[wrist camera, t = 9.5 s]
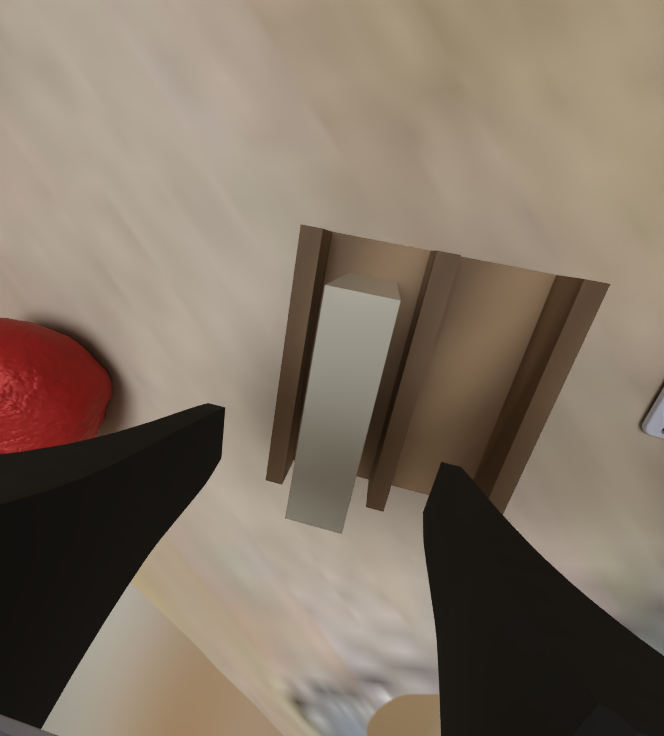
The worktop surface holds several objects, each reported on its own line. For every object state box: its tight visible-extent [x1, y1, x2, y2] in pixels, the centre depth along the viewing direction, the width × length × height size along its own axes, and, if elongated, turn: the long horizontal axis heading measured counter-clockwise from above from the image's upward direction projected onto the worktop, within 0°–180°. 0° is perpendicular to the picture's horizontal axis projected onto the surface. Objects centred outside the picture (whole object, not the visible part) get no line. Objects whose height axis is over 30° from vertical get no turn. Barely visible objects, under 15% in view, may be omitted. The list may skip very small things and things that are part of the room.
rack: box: [266, 225, 610, 515], centre depth 18 cm, size 13×14×4 cm
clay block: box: [285, 273, 401, 534], centre depth 16 cm, size 2×10×7 cm, turn 170°
